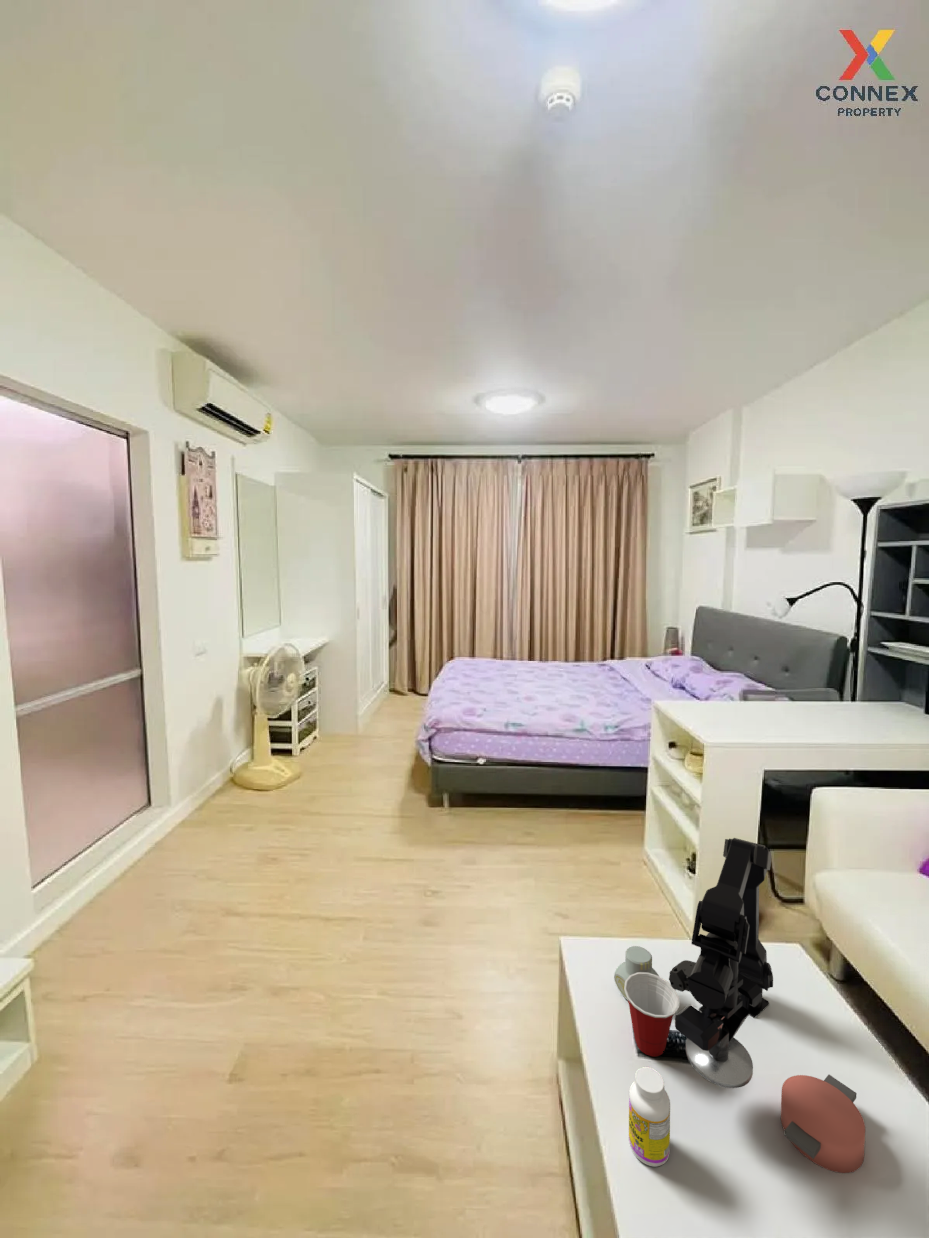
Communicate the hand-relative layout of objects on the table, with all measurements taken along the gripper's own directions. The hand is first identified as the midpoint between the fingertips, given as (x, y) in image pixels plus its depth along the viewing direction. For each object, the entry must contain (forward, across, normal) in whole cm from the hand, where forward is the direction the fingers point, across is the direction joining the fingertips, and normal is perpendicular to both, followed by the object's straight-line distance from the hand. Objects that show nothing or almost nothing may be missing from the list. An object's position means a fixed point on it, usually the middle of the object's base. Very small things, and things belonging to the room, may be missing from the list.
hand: (718, 1050), depth 96 cm
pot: (+11, -10, +13) cm, 20 cm away
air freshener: (+12, -10, -25) cm, 29 cm away
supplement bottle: (+12, +16, -3) cm, 20 cm away
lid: (+2, 0, 0) cm, 2 cm away
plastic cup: (+12, -1, -15) cm, 19 cm away
